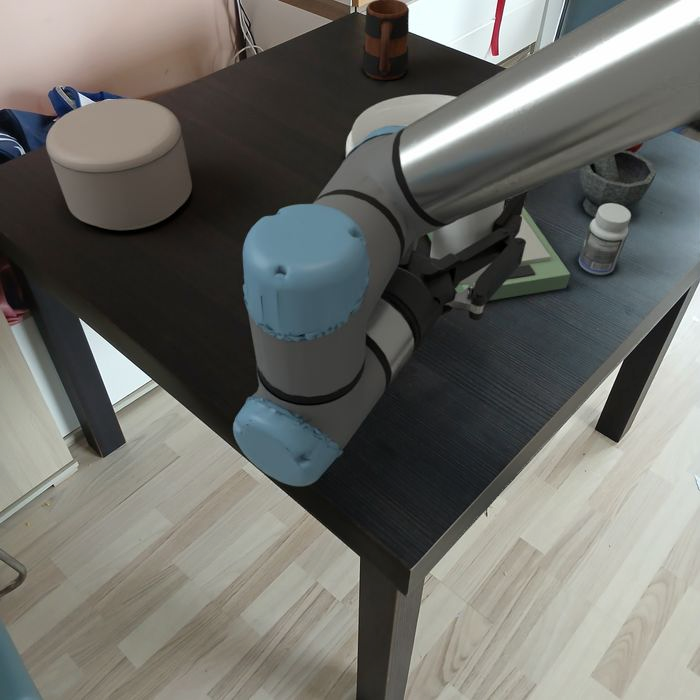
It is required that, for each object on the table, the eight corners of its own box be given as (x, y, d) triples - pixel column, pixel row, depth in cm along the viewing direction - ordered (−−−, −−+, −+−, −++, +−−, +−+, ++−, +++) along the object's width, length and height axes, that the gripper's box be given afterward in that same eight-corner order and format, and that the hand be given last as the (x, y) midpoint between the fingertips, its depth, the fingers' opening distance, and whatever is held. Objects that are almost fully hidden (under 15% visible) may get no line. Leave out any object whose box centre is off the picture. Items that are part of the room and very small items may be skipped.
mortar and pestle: (653, 212, 96) (683, 137, 88) (612, 236, 92) (639, 160, 84) (591, 178, 102) (614, 104, 94) (550, 199, 99) (570, 124, 90)
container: (129, 154, 107) (109, 84, 98) (218, 186, 101) (206, 114, 92) (42, 212, 96) (12, 138, 87) (137, 252, 90) (114, 176, 81)
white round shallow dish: (393, 234, 93) (395, 201, 89) (319, 142, 109) (318, 111, 105) (553, 190, 100) (561, 158, 96) (461, 110, 117) (465, 79, 113)
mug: (359, 89, 122) (360, 23, 114) (364, 60, 130) (365, -3, 122) (406, 91, 122) (410, 24, 113) (407, 62, 130) (412, -2, 121)
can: (498, 283, 69) (520, 183, 60) (438, 290, 68) (451, 189, 59) (479, 244, 73) (497, 146, 64) (422, 250, 72) (432, 152, 64)
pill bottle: (591, 248, 91) (608, 196, 85) (621, 265, 88) (642, 212, 82) (570, 263, 89) (587, 211, 82) (601, 281, 86) (621, 228, 80)
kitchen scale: (566, 288, 85) (572, 269, 83) (462, 305, 83) (466, 286, 81) (519, 219, 95) (524, 201, 93) (426, 233, 93) (428, 214, 91)
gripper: (285, 315, 62) (403, 193, 75) (478, 401, 55) (570, 250, 68) (279, 251, 56) (407, 132, 69) (493, 338, 49) (589, 187, 63)
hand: (487, 191), depth 69 cm, fingers closed on can, 6 cm apart
